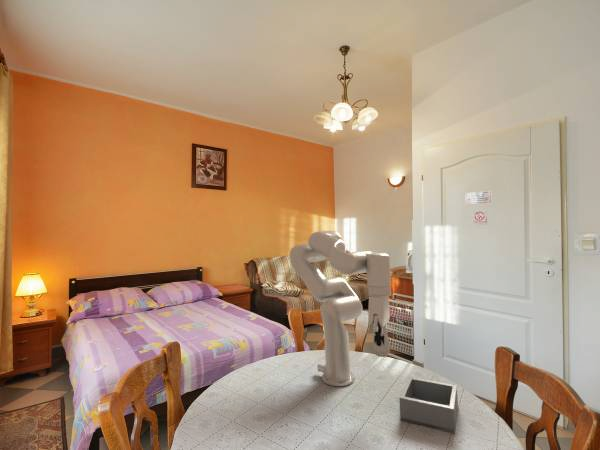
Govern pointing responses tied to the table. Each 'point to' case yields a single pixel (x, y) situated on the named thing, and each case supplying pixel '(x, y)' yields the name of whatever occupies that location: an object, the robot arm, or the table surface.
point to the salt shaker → (383, 349)
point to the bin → (429, 404)
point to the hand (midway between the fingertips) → (381, 344)
